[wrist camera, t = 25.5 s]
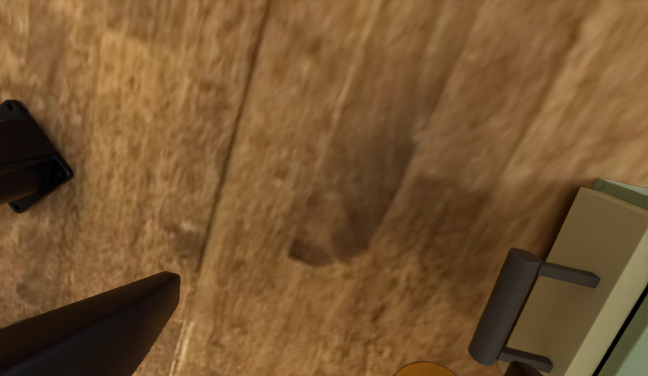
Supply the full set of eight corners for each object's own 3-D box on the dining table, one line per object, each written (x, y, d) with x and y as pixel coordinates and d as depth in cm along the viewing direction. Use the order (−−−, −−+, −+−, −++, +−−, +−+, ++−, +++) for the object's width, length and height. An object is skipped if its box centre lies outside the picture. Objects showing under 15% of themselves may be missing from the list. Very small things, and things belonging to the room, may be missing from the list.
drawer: (436, 348, 22) (454, 413, 17) (504, 171, 18) (550, 195, 13) (686, 412, 20) (775, 501, 16) (821, 237, 16) (990, 289, 12)
